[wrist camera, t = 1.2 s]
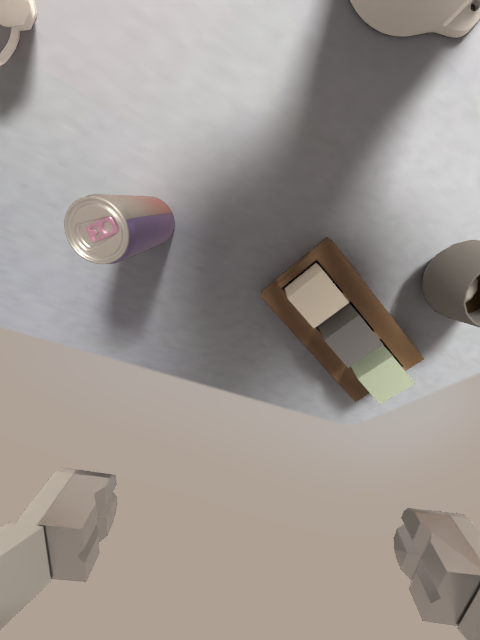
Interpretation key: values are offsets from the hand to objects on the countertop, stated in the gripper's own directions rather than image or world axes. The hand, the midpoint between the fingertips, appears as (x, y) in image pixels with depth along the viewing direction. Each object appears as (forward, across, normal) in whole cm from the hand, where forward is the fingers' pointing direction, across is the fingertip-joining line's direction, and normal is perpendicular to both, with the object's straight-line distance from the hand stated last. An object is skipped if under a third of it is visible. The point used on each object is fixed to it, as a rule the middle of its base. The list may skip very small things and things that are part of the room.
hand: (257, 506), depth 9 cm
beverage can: (+35, +14, -6) cm, 38 cm away
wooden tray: (+35, -13, +5) cm, 38 cm away
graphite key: (+32, -13, +5) cm, 35 cm away
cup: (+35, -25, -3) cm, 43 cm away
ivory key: (+32, -8, +1) cm, 33 cm away
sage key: (+32, -18, +10) cm, 38 cm away
